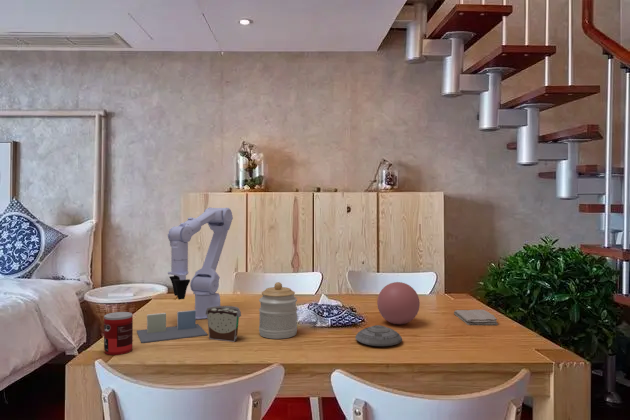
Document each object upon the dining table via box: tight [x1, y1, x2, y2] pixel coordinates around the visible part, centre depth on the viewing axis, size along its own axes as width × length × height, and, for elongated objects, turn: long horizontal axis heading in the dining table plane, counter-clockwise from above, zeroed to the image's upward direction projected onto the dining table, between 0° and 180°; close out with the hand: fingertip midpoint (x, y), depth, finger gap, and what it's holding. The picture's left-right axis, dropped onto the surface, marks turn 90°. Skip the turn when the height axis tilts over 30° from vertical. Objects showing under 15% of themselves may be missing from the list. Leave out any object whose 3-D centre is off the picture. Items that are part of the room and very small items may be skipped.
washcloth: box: [453, 309, 499, 326], centre depth 181 cm, size 12×18×3 cm, turn 1°
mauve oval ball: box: [377, 281, 421, 325], centre depth 177 cm, size 15×20×15 cm
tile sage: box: [146, 312, 167, 333], centre depth 161 cm, size 6×2×6 cm, turn 116°
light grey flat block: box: [176, 309, 197, 330], centre depth 165 cm, size 6×2×6 cm, turn 116°
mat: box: [136, 323, 209, 344], centre depth 160 cm, size 21×15×1 cm
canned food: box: [103, 311, 134, 356], centre depth 141 cm, size 8×8×11 cm
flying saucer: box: [354, 324, 403, 347], centre depth 152 cm, size 15×15×6 cm
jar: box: [258, 281, 298, 340], centre depth 160 cm, size 13×13×18 cm
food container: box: [206, 305, 242, 343], centre depth 155 cm, size 12×6×10 cm, turn 71°
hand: (179, 297), depth 170 cm, fingers open, 7 cm apart
